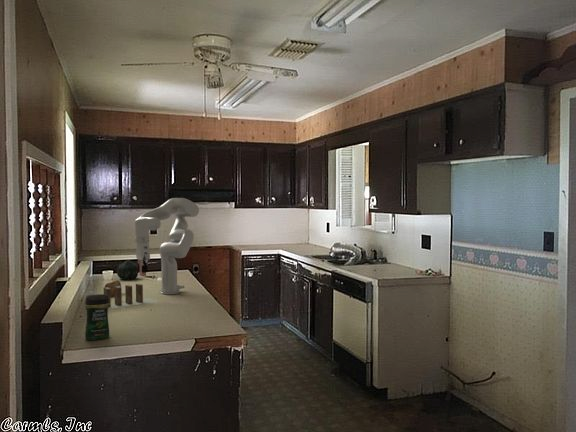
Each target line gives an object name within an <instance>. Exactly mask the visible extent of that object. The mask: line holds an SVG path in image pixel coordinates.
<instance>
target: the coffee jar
mask: <svg viewBox="0 0 576 432" xmlns="http://www.w3.org/2000/svg"><path fill="white" fill-rule="evenodd" d="M84 307H85V309H86V322H85V323H86V324H85V331H84V337H85V340H87V341H98V340H99V341H100V340H105V339H107V338H109V337H110V326H109V325H110V324H109V309H108V307H109V298H108V295H107V294H104V293H103V294H102V293H100V294H91V295H86V297H85V303H84Z"/></svg>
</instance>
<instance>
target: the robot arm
mask: <svg viewBox="0 0 576 432" xmlns="http://www.w3.org/2000/svg"><path fill="white" fill-rule="evenodd" d="M199 212H200V208H199V206H198V204H197V203H195V202H193V201H192V200H190V199H189V198H188V199H187V198H184V197H172V198H169V199H168V200H167V201H165V202H164V203H163V204H161V205H160V206H159V207H156V208H154V209H151V210H148V211H145V212H144V213H143V214H141V215H140V216H139V217H138V218H136V219H135V220H134V231H135V233H134V238H135V244H136V245H135V246H136V247H135V255H136V259H137V267H138V272H139V271H140V269H139V260H142V273H144V272H146V273H148V263H149V261H150V260H151V252H150V251H151V250H150V244H149V243H150V231H157V230H159V229H160V228H161V226H162V224H161V223H162V222H161V221H165V220H167V219H169V218H170V217H172V216H173V215H174V220H175V222H174V224H173V226H172V228H171V230H170V232H169V234H168V238H167V239H168V241H166V242H162V243H161V244H160V246H159V255H160V261H161V262H160V263H161V265H160V266H161V268H160V269H161V275H160V277H161V290H159V291H158V293H159V294H161V295H176V294H177V295H178V294H179V293H180V292H181V290H180V289H182V290H183V289H185V284H184V285H179V284H178V264H177V263H178V262H177V260H176V259H182V258H185V257H187V254H188V253H189V250H190V249H191V247H192V245H193V243H194V237H195V235H194V232H193V231H192V230H191V229H189V228H188V227H189V224H188V222H187V221H188V220H187V219H186V218H185V217H187V218H189V217H190V218H194V217H197V216H198V215H199ZM143 259H145V260H143ZM143 261H144V262H143Z"/></svg>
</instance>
